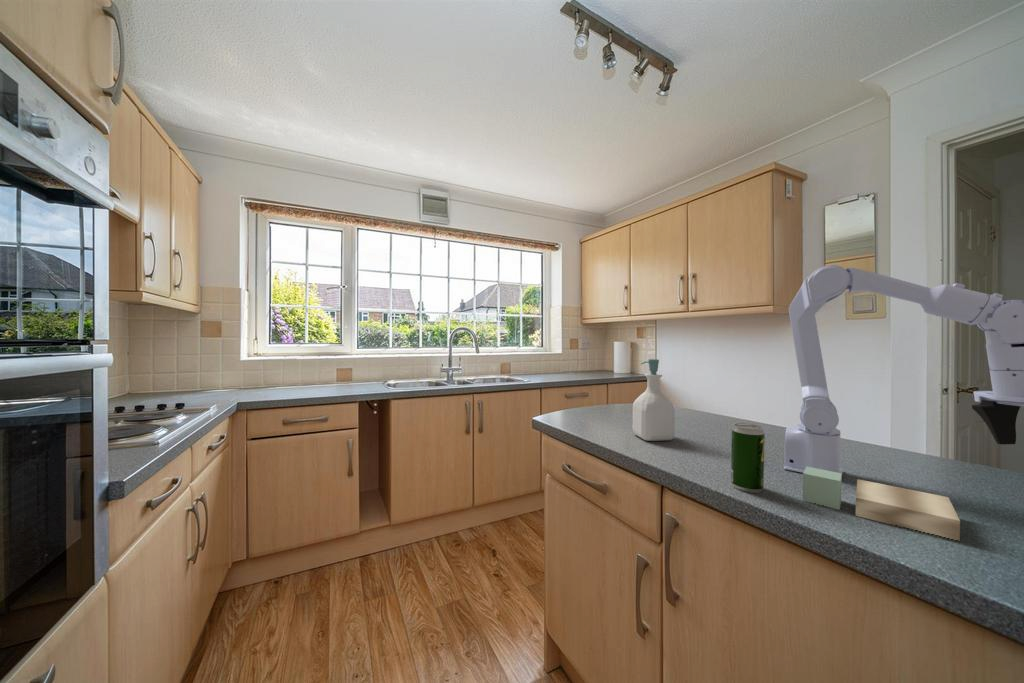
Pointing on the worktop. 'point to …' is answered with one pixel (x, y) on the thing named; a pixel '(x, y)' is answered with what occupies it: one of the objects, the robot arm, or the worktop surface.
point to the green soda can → (747, 457)
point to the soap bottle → (653, 410)
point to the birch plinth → (907, 509)
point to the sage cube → (822, 487)
